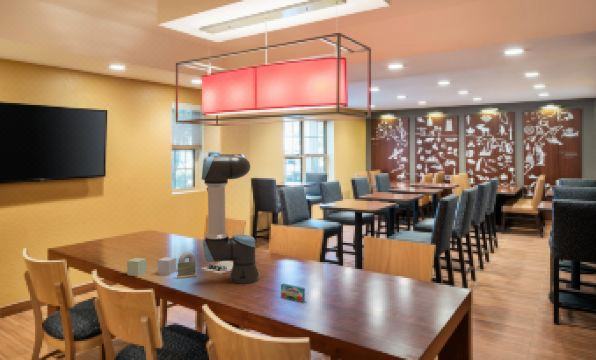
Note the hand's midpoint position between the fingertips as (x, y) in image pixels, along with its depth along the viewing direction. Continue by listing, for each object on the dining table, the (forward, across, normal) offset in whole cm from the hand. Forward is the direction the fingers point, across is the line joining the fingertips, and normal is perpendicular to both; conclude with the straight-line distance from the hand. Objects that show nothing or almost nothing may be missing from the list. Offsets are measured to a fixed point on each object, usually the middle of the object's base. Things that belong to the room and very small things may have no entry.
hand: (213, 214), depth 254 cm
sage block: (+30, +5, +46) cm, 55 cm away
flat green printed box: (+31, -84, +14) cm, 91 cm away
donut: (+30, -7, +22) cm, 38 cm away
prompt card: (+30, -19, +30) cm, 47 cm away
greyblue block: (+30, -5, +34) cm, 45 cm away
